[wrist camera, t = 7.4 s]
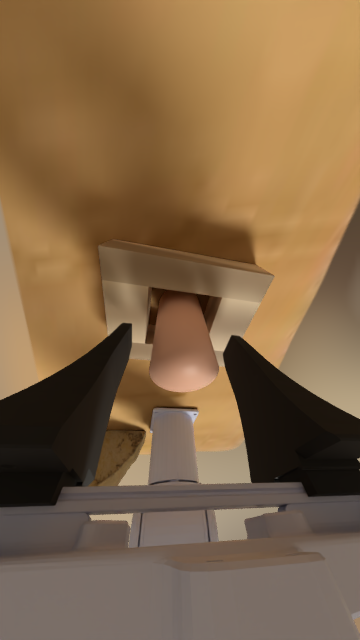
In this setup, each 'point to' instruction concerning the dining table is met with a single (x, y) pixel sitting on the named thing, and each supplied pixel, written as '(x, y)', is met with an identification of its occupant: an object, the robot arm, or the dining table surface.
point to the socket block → (180, 275)
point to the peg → (182, 345)
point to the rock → (117, 456)
